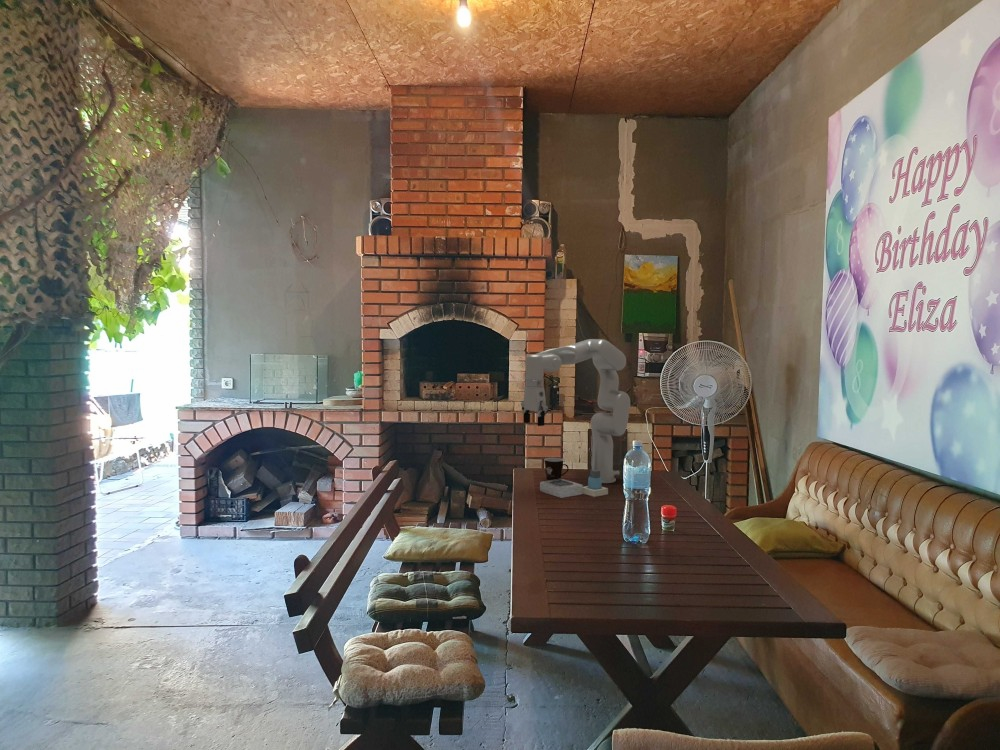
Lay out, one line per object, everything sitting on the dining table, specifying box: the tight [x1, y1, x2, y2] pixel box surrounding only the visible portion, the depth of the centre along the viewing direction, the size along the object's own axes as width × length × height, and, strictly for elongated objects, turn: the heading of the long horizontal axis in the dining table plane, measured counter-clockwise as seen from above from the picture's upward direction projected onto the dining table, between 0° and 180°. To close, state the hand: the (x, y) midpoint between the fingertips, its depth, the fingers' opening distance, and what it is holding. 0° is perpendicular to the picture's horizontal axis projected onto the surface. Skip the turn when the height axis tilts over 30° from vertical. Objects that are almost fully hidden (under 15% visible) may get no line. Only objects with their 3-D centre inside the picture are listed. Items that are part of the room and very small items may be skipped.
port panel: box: [539, 478, 584, 499], centre depth 273 cm, size 12×14×4 cm
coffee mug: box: [544, 457, 570, 481], centre depth 293 cm, size 12×9×10 cm
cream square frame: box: [582, 485, 609, 498], centre depth 272 cm, size 8×8×2 cm
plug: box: [587, 469, 603, 490], centre depth 272 cm, size 4×4×10 cm
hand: (533, 424), depth 269 cm, fingers open, 9 cm apart
